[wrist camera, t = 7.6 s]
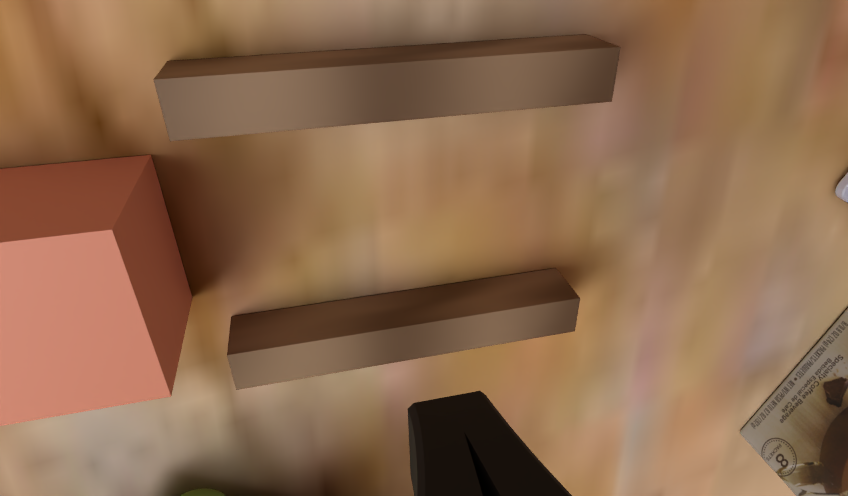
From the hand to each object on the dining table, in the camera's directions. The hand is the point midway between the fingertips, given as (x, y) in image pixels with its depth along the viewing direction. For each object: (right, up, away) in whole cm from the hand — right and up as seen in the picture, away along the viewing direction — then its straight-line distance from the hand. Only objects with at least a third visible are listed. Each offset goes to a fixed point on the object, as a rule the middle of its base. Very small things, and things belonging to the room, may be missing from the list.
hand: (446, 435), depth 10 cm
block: (-11, +4, +6) cm, 13 cm away
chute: (0, +5, +8) cm, 10 cm away
